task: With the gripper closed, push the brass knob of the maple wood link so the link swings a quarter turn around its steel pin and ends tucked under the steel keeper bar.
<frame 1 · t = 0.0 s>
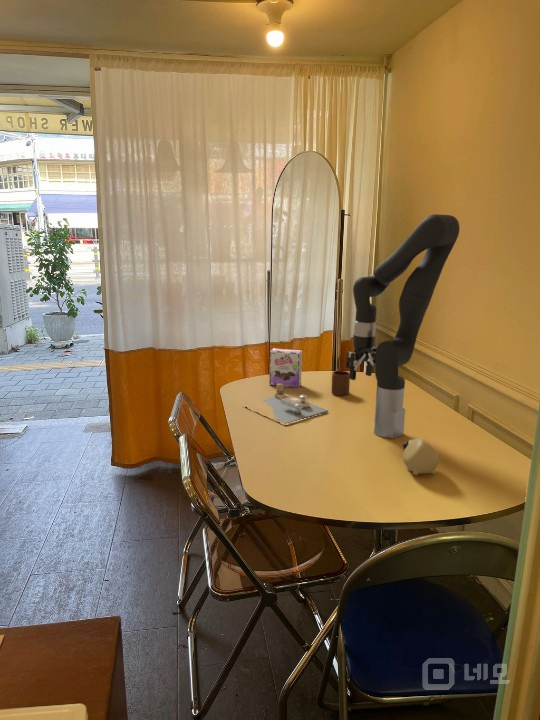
hand: (360, 377, 181), 17 cm above the table, tool pointing down, fingers open, 8 cm apart
base plate: (284, 409, 197), on the table
link: (292, 395, 202), point 4 cm above the table, hinge at 0.0°
cream rounded piece: (418, 472, 148), on the table
candy box: (285, 385, 228), on the table
mug: (338, 392, 219), on the table
keeper: (302, 409, 198), resting on base plate
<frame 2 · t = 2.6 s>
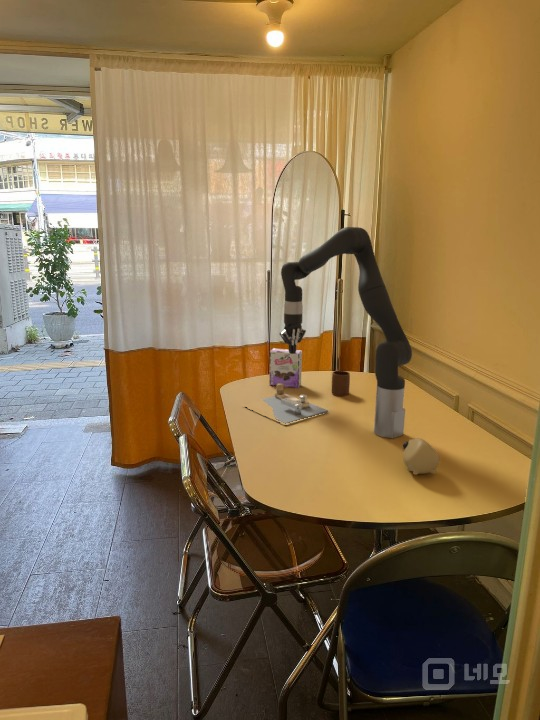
hand: (292, 353, 208), 19 cm above the table, tool pointing down, fingers closed
nothing on the table moved.
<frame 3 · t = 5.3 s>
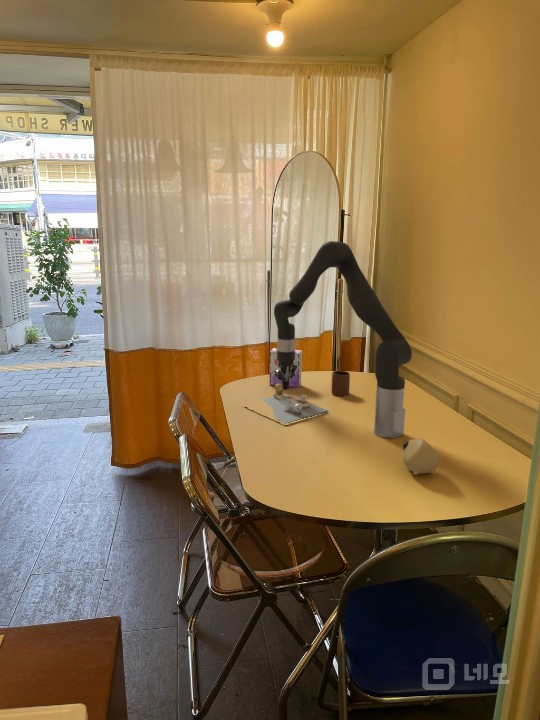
hand: (285, 389, 210), 4 cm above the table, tool pointing down, fingers closed
link: (291, 395, 202), point 4 cm above the table, hinge at 2.6°, touching gripper
everything else where it was.
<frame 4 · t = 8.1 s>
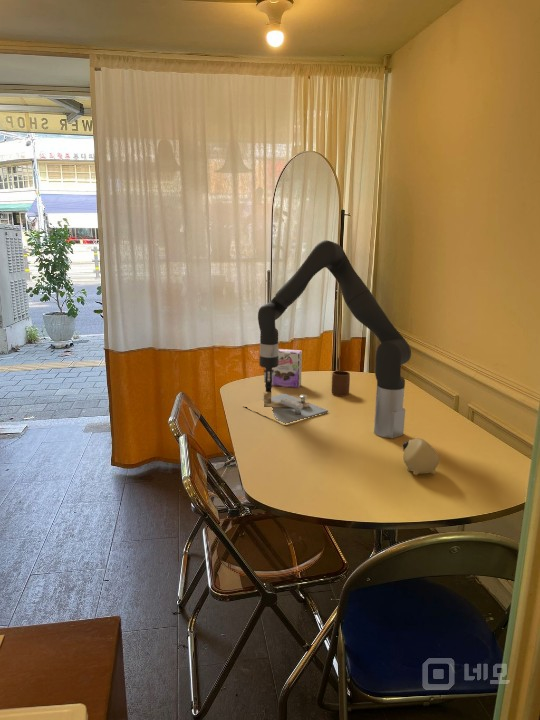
hand: (268, 395, 201), 4 cm above the table, tool pointing down, fingers closed
link: (286, 399, 197), point 4 cm above the table, hinge at 51.0°, touching gripper
everything else where it was.
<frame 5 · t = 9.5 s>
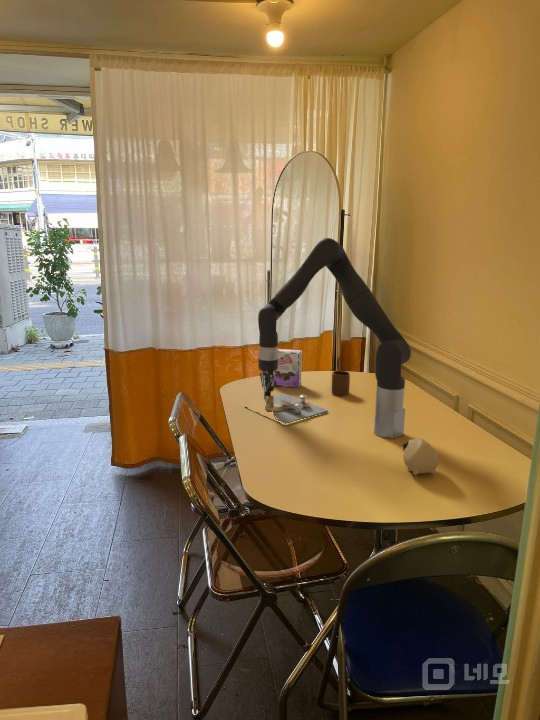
hand: (267, 399, 196), 4 cm above the table, tool pointing down, fingers closed
link: (287, 401, 195), point 4 cm above the table, hinge at 71.3°, touching gripper
everything else where it was.
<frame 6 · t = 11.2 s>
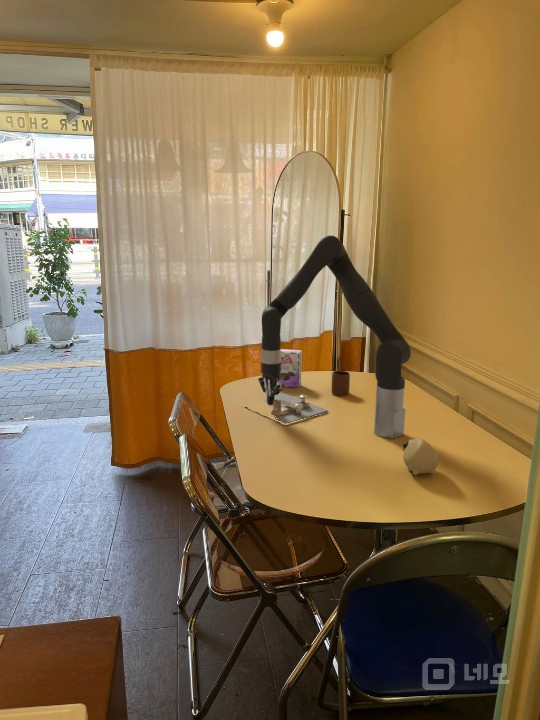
hand: (270, 404, 191), 4 cm above the table, tool pointing down, fingers closed
link: (291, 403, 193), point 4 cm above the table, hinge at 93.2°
everything else where it was.
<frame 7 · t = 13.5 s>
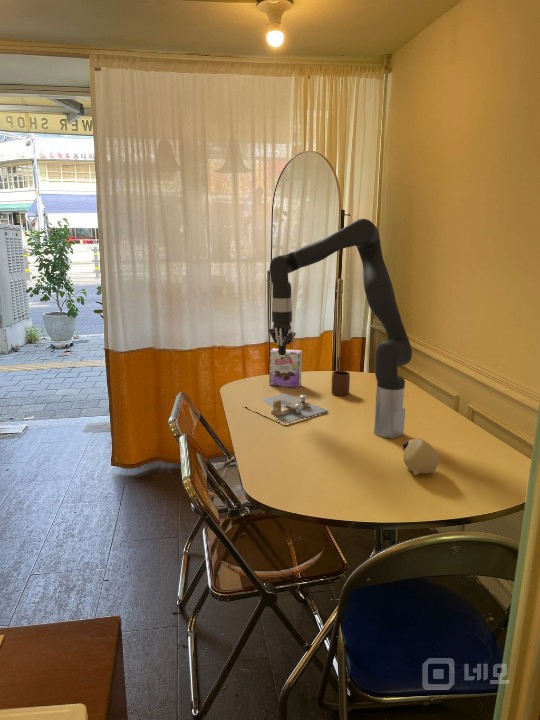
hand: (282, 354, 192), 22 cm above the table, tool pointing down, fingers closed
nothing on the table moved.
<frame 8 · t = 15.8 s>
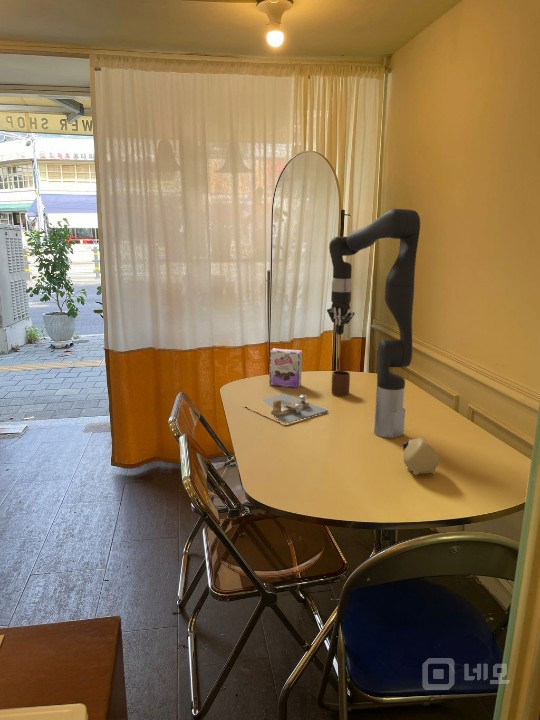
hand: (339, 334, 197), 29 cm above the table, tool pointing down, fingers closed
nothing on the table moved.
at the end: link at +93° (first picture: +0°) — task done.
